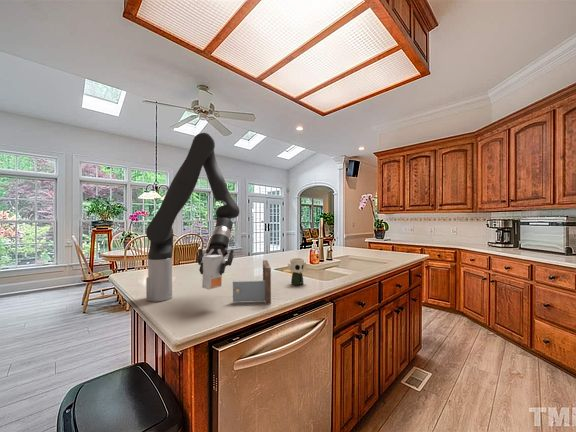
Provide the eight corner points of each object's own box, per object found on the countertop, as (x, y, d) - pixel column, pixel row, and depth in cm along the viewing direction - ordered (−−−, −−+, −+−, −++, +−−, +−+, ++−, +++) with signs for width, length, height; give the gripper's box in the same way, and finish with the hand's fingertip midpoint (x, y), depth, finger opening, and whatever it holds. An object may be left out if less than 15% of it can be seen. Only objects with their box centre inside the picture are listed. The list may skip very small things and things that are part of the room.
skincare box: (209, 290, 94) (210, 257, 94) (201, 288, 96) (202, 256, 96) (222, 286, 99) (222, 255, 99) (214, 284, 101) (215, 254, 102)
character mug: (291, 287, 126) (291, 260, 126) (284, 284, 133) (284, 258, 133) (310, 284, 132) (309, 259, 132) (302, 281, 138) (302, 257, 138)
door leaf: (266, 302, 103) (266, 282, 103) (232, 303, 102) (232, 282, 102) (266, 300, 106) (266, 280, 106) (233, 301, 105) (233, 281, 105)
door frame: (265, 303, 103) (265, 268, 103) (263, 290, 121) (262, 260, 121) (270, 303, 103) (270, 267, 103) (267, 290, 122) (267, 260, 122)
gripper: (201, 232, 105) (189, 267, 94) (236, 233, 105) (228, 268, 93) (205, 244, 111) (194, 278, 99) (238, 245, 111) (231, 279, 99)
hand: (211, 273), depth 96 cm, fingers closed on skincare box, 6 cm apart
